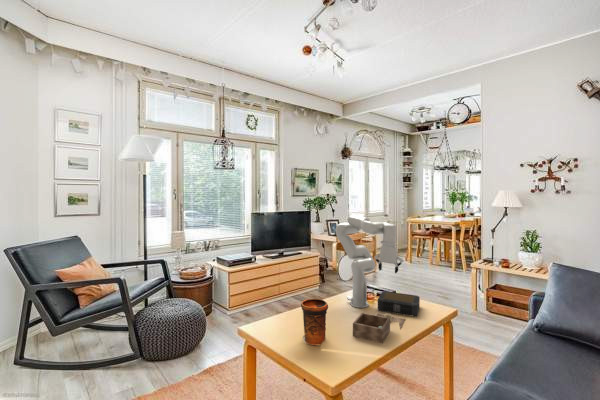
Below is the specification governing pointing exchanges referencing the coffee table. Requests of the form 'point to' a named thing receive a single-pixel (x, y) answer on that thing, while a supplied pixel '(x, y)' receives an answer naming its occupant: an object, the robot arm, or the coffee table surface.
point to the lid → (393, 319)
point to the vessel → (314, 320)
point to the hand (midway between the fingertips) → (388, 271)
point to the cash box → (399, 303)
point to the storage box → (371, 327)
